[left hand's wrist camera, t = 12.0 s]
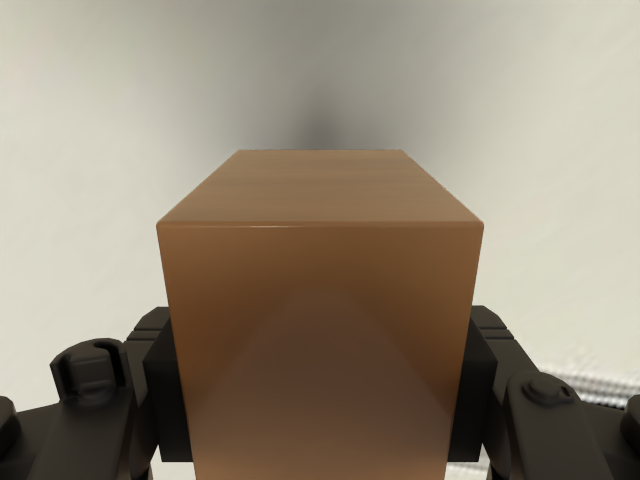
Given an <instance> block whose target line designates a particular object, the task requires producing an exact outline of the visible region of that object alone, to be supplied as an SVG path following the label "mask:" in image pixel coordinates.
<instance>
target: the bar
mask: <svg viewBox="0 0 640 480" xmlns="http://www.w3.org/2000/svg"><path fill="white" fill-rule="evenodd" d="M156 229H157V235H158V242H159V248H160V254H161V261H162V267H163V273H164V280H165V286H166V292H167V298H168V305H169V311H170V317H171V324H172V330H173V336H174V343H175V349H176V355H177V362H178V368H179V374H180V381H181V387H182V393H183V400H184V406H185V412H186V419H187V425H188V431H189V438H190V444H191V450H192V457H193V463H194V469H195V476H196V480H444V477H445V471H446V465H447V458H448V452H449V446H450V439H451V433H452V427H453V420H454V414H455V408H456V401H457V395H458V389H459V382H460V376H461V370H462V363H463V357H464V351H465V344H466V338H467V332H468V325H469V319H470V313H471V306H472V300H473V294H474V287H475V281H476V275H477V268H478V262H479V255H480V249H481V243H482V236H483V230H484V224H483V222H482V221H481V220H480V219H479V218H478V217H477V216H475V215H474V214H473V213H472V212H471V211H470V210H469V209H468V208H467V207H465V206H464V205H463V204H462V203H461V202H460V201H459V200H458V199H456V198H455V197H454V196H453V195H452V194H451V193H450V192H449V191H447V190H446V189H445V188H444V187H443V186H442V185H441V184H440V183H438V182H437V181H436V180H435V179H434V178H433V177H432V176H431V175H429V174H428V173H427V172H426V171H425V170H424V169H423V168H422V167H420V166H419V165H418V164H417V163H416V162H415V161H414V160H413V159H411V158H410V157H409V156H408V155H407V154H406V153H405V152H404V151H402V150H238V151H237V152H236V153H235V154H233V155H232V156H231V157H230V158H229V159H228V160H227V161H226V162H224V163H223V164H222V165H221V166H220V167H219V168H218V169H217V170H215V171H214V172H213V173H212V174H211V175H210V176H209V177H208V178H206V179H205V180H204V181H203V182H202V183H201V184H200V185H199V186H197V187H196V188H195V189H194V190H193V191H192V192H191V193H189V194H188V195H187V196H186V197H185V198H184V199H183V200H182V201H180V202H179V203H178V204H177V205H176V206H175V207H174V208H173V209H171V210H170V211H169V212H168V213H167V214H166V215H165V216H164V217H162V218H161V219H160V220H159V221H158V222H157V224H156Z"/></svg>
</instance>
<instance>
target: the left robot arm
mask: <svg viewBox="0 0 640 480" xmlns="http://www.w3.org/2000/svg"><path fill="white" fill-rule="evenodd" d="M50 368H51V371H52V375H53V378H54V381H55V385H56V388H57V391H58V395H59V398H60V400H59V403H56V404H52V405H49V406H44V407H40V408H35V409H31V410H26V411H22V412H16V410H15V407H14V404H13V402H12V401H11V400H10V399H8V398H7V397H4V396H0V480H153V475H152V469H151V464H150V462H151V459H152V457H153V455H154V453H155V450H156V448H157V446H158V445H159V450H160V455H161V460H162V462H193V457H192V450H191V444H190V438H189V431H188V425H187V419H186V412H185V406H184V400H183V393H182V387H181V381H180V374H179V368H178V362H177V355H176V349H175V343H174V336H173V330H172V324H171V317H170V311H169V307H156V308H155V309H153V310H152V311H150V312H149V313H147V314H146V315H145V316H143V317H142V318H141V320H140V321H139V322H138V324H137V325H136V326H135V328H134V331H132V332H131V333H130V335H129V336H128V337H127V340H126V341H124V343H122V342H121V341H119V340H116V339H111V338H98V339H92V340H88V341H84V342H81V343H78V344H76V345H74V346H72V347H69V348H67V349H66V350H64V351H63V352H61V353H60V354H59V355H57V356H56V357H55V358H54V360H53V361H52V362H51V363H50ZM482 443H483V445H484V448H485V450H486V452H487V454H488V457H489V459H490V464H489V469H488V473H487V478H486V480H640V394H639V395H634V396H633V397H632V398H630V399H629V400H628V402H627V405H626V408H625V411H622V410H618V409H613V408H609V407H604V406H600V405H595V404H591V403H587V402H584V401H581V400H580V398H579V396H578V395H577V393H576V392H575V391H574V389H573V388H571V387H570V386H569V385H567V384H566V383H565V382H564V381H562V380H560V379H558V378H556V377H554V376H552V375H550V374H547V373H543V372H540V371H539V370H538V369H537V367H536V366H535V365H534V363H533V362H532V361H531V359H530V358H529V357H528V355H527V354H526V353H525V351H524V350H523V348H522V347H521V346H520V344H519V343H518V342H517V340H514V336H513V335H512V334H511V332H510V331H509V330H507V327H506V326H505V324H504V323H503V322H502V320H501V319H500V317H499V316H498V315H496V314H495V313H494V312H492V311H491V310H489V309H488V308H486V307H485V306H471V313H470V319H469V325H468V332H467V338H466V344H465V351H464V357H463V363H462V370H461V376H460V382H459V389H458V395H457V401H456V408H455V414H454V420H453V427H452V433H451V439H450V446H449V452H448V458H447V462H478V461H479V456H480V451H481V446H482Z"/></svg>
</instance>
